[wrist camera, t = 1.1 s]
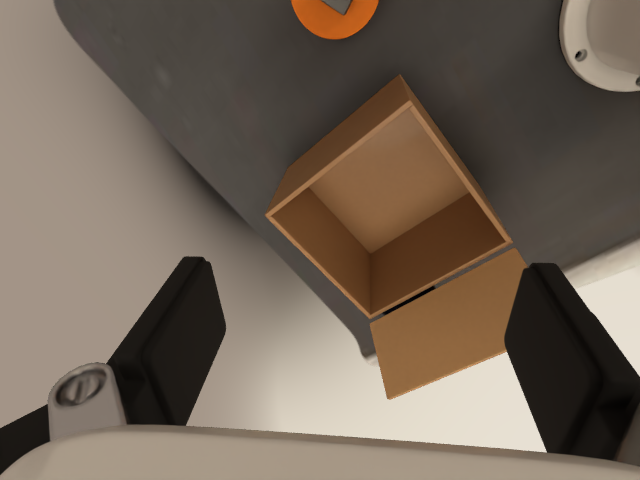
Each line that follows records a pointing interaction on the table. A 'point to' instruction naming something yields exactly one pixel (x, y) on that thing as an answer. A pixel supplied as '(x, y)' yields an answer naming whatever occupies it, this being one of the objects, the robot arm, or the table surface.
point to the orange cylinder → (334, 16)
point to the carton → (386, 204)
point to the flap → (448, 326)
